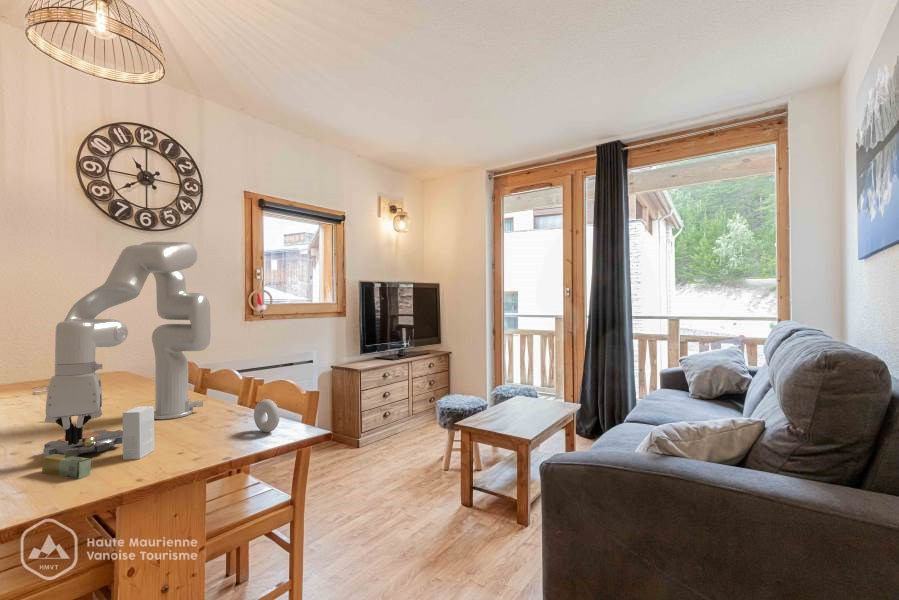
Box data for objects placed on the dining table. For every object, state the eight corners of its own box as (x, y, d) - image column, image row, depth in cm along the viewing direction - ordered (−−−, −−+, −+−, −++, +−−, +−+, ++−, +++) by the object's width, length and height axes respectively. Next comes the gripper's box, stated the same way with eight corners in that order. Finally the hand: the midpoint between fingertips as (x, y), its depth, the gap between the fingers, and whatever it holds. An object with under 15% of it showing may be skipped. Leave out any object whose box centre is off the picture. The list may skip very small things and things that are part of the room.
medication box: (91, 475, 95) (92, 458, 95) (78, 480, 92) (78, 462, 92) (54, 469, 98) (55, 452, 98) (40, 474, 95) (41, 456, 95)
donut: (282, 433, 125) (282, 400, 125) (272, 436, 122) (272, 402, 122) (261, 427, 130) (261, 396, 130) (251, 430, 127) (251, 398, 127)
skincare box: (137, 451, 109) (137, 406, 109) (154, 450, 110) (154, 405, 110) (121, 460, 103) (121, 412, 103) (139, 459, 104) (139, 412, 104)
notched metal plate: (106, 432, 120) (106, 419, 120) (138, 440, 113) (138, 427, 113) (30, 450, 106) (30, 436, 106) (62, 461, 99) (62, 446, 99)
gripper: (115, 365, 111) (114, 434, 110) (39, 370, 103) (37, 444, 103) (111, 369, 104) (109, 442, 104) (29, 374, 96) (27, 453, 96)
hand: (73, 443), depth 103 cm, fingers closed
